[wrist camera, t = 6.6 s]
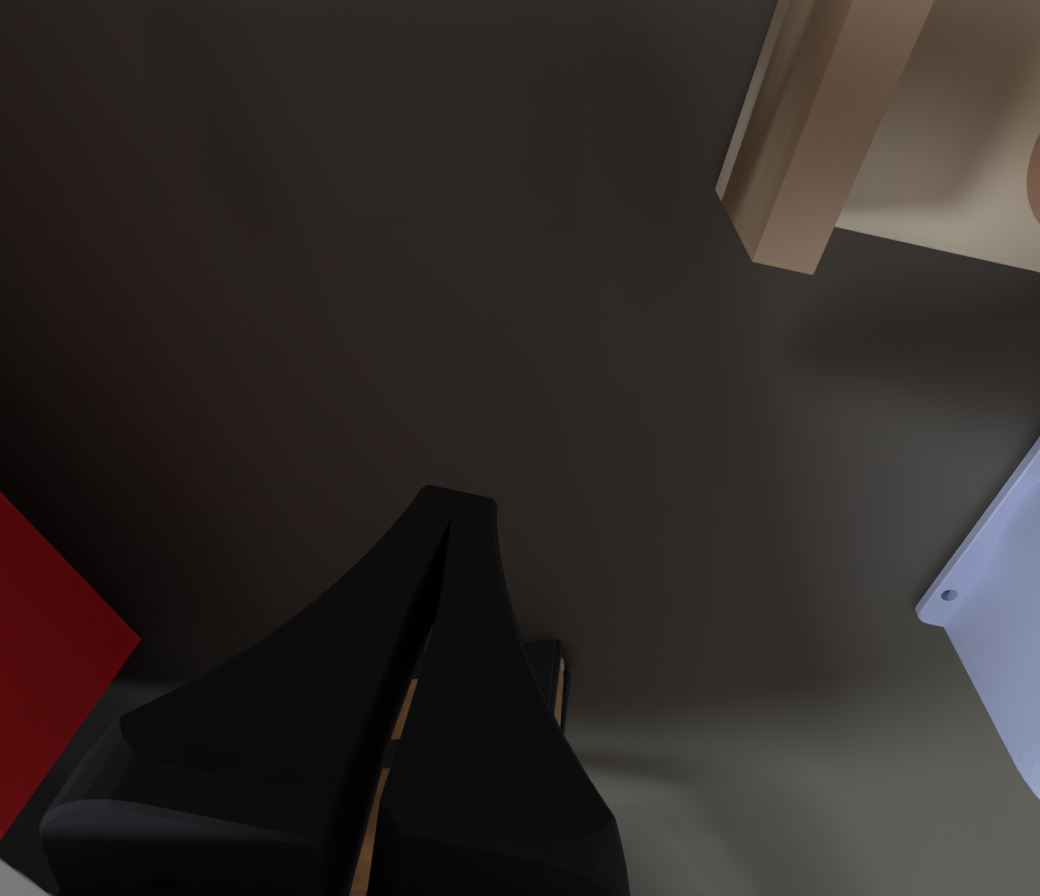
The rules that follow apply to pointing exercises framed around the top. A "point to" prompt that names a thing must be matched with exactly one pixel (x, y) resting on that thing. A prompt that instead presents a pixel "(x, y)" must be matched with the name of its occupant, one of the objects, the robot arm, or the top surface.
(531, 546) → the top surface
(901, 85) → the tan notched piece
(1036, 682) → the robot arm
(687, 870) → the top surface
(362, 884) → the cigar case
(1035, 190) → the canister
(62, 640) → the book
